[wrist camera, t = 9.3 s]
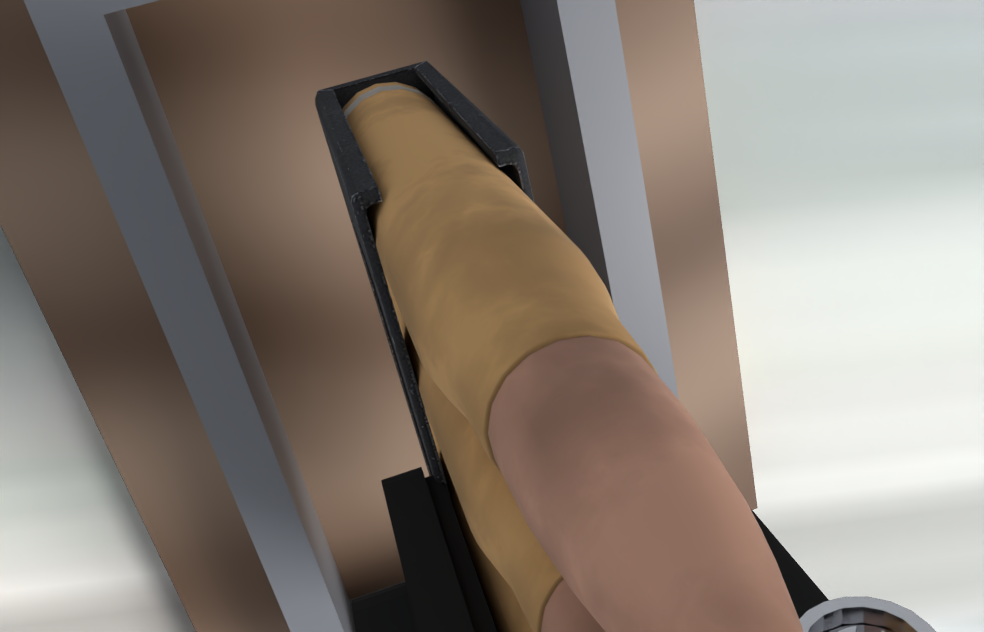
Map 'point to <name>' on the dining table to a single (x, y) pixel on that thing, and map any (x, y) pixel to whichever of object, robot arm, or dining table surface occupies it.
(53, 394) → the dining table surface
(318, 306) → the pocket board
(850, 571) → the dining table surface
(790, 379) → the dining table surface
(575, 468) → the ammunition clip
